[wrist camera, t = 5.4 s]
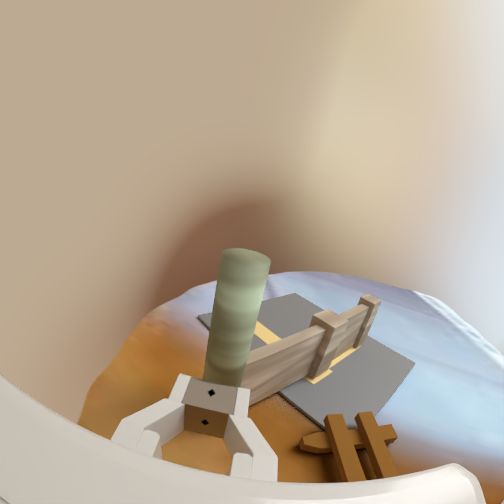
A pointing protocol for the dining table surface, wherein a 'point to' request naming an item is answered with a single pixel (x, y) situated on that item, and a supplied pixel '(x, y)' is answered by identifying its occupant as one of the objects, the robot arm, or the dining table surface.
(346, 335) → the fixed fence section
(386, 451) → the decorative fence
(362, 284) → the dining table surface
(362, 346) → the board
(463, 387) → the dining table surface
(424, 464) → the dining table surface
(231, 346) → the swinging fence section
